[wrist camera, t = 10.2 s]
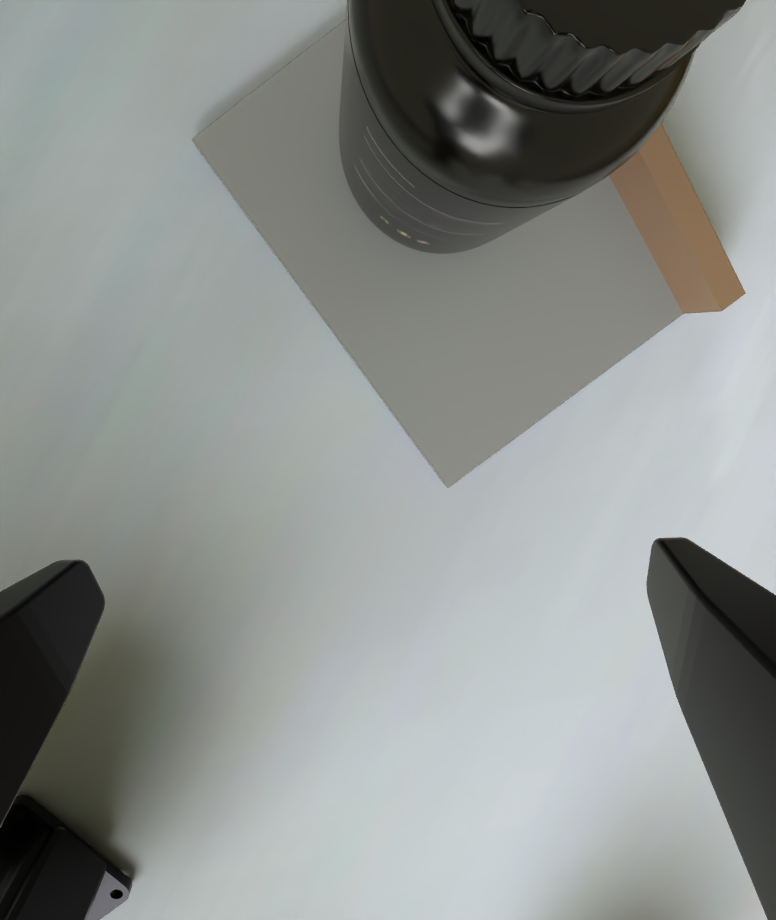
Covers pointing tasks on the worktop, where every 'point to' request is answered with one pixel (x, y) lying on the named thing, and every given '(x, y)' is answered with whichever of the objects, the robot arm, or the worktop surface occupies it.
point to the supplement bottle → (503, 105)
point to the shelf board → (467, 271)
